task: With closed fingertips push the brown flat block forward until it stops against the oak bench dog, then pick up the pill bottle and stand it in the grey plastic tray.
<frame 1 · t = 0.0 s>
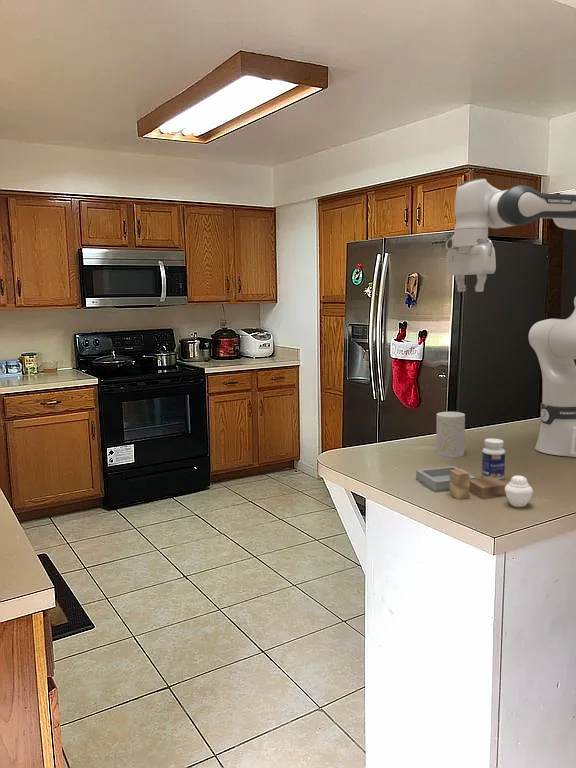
hand: (470, 291, 179), 48 cm above the countertop, tool pointing down, fingers open, 8 cm apart
cup: (450, 454, 193), on the countertop
white lidded jar: (518, 505, 148), on the countertop
tray: (445, 483, 165), on the countertop
pill bottle: (493, 478, 169), on the countertop
bench dog: (459, 495, 155), on the countertop
brown flat block: (487, 494, 157), on the countertop
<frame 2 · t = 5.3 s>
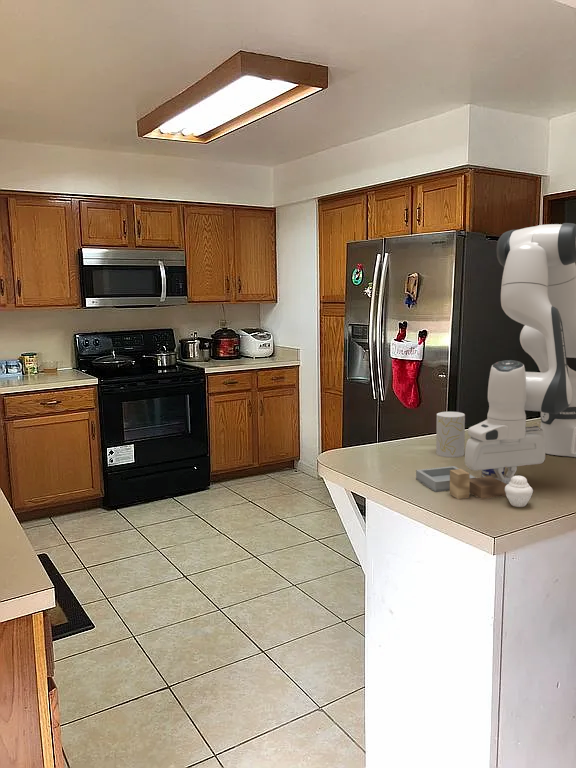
hand: (504, 484, 158), 2 cm above the countertop, tool pointing down, fingers closed
brown flat block: (485, 493, 157), on the countertop, touching gripper
everything else where it was.
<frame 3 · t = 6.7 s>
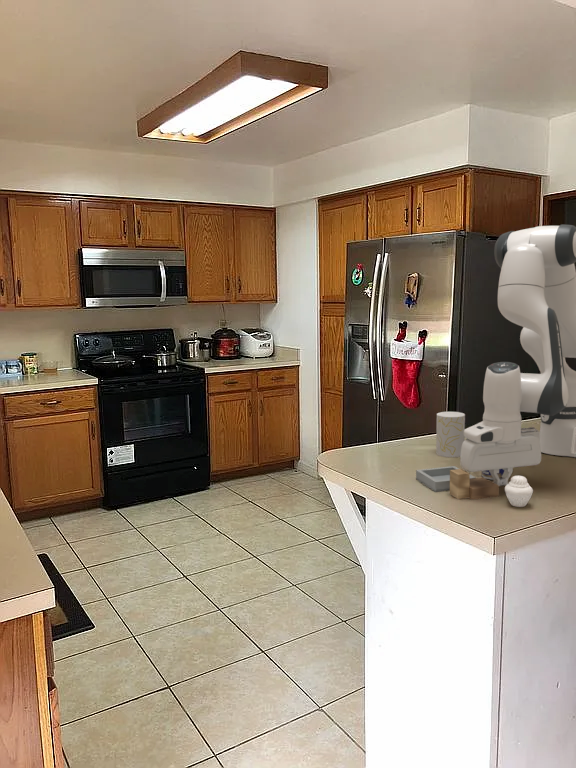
hand: (500, 485, 158), 1 cm above the countertop, tool pointing down, fingers closed
brown flat block: (477, 494, 157), on the countertop
everything else where it was.
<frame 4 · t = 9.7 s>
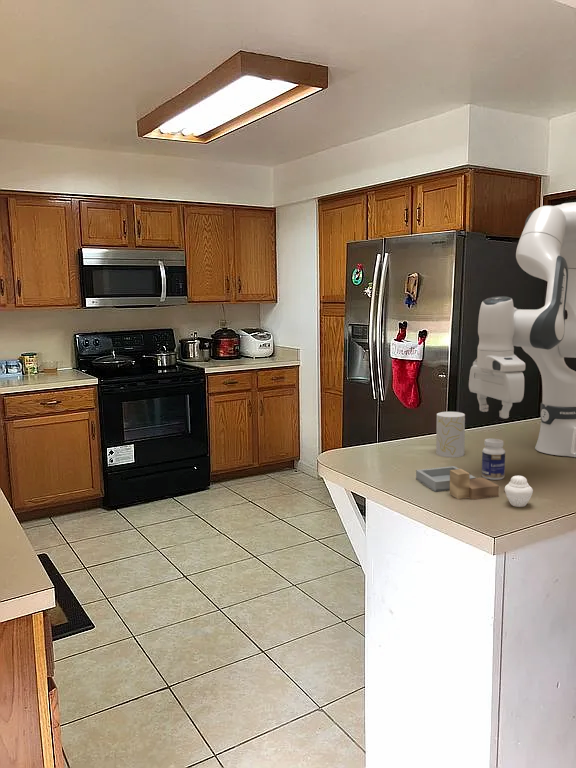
hand: (493, 414, 166), 17 cm above the countertop, tool pointing down, fingers open, 8 cm apart
nothing on the countertop moved.
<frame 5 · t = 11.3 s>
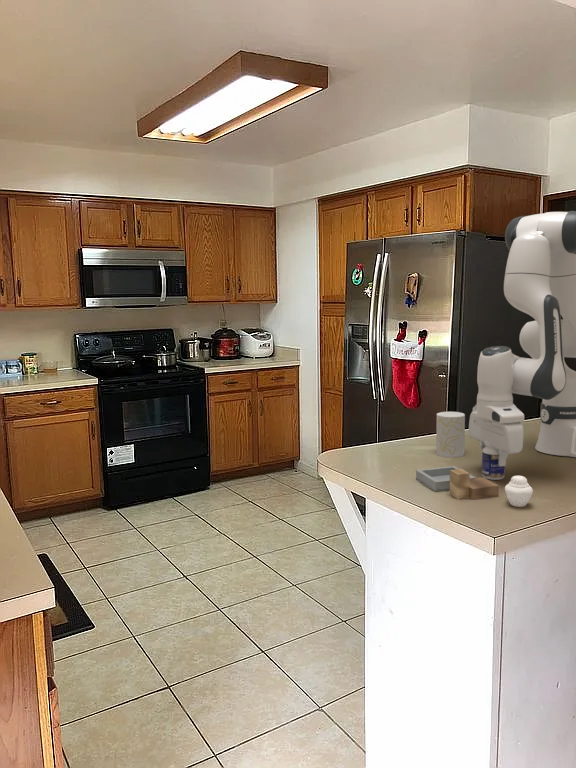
hand: (493, 462, 168), 4 cm above the countertop, tool pointing down, fingers closed on pill bottle, 6 cm apart
pill bottle: (493, 478, 169), on the countertop, touching gripper
everything else where it was.
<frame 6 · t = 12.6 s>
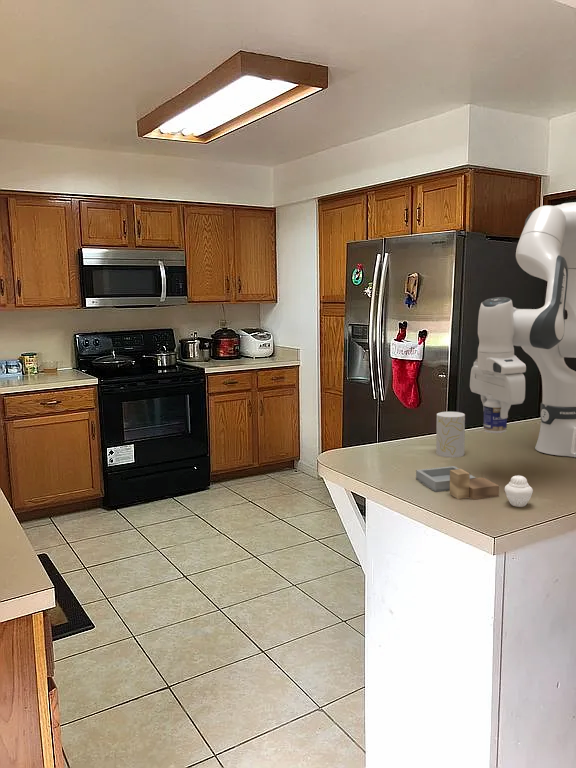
hand: (495, 415, 167), 16 cm above the countertop, tool pointing down, fingers closed on pill bottle, 6 cm apart
pill bottle: (495, 431, 168), point 12 cm above the countertop, touching gripper
everything else where it was.
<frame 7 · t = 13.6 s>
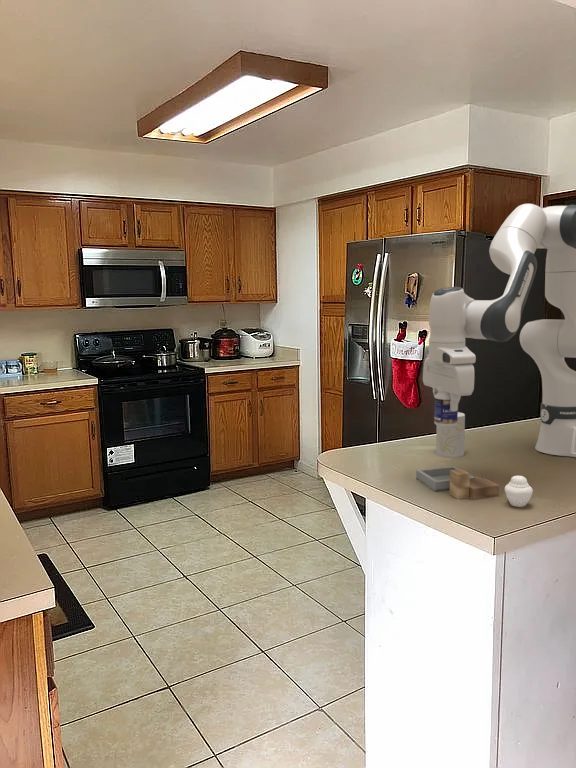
hand: (446, 408, 162), 20 cm above the countertop, tool pointing down, fingers closed on pill bottle, 6 cm apart
pill bottle: (445, 425, 163), point 15 cm above the countertop, touching gripper
everything else where it was.
when the fingers open (7 cm above the countertop, at t = 16.5 s): pill bottle drops 2 cm, resting on tray.
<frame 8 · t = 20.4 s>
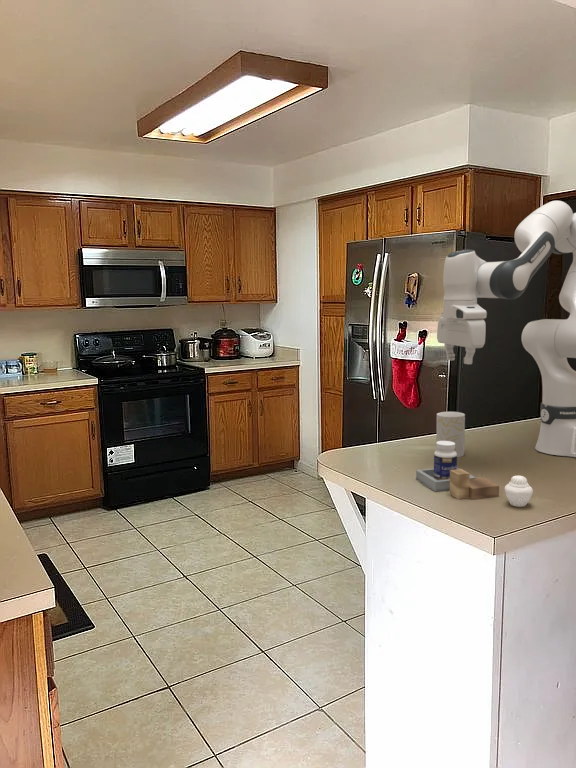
hand: (459, 362, 176), 29 cm above the countertop, tool pointing down, fingers open, 8 cm apart
pill bottle: (444, 481, 166), resting on tray
everything else where it was.
at the end: pill bottle 0.4 cm off-centre on the tray, point 0.4 cm above the tray's base; pill bottle tilted 0°; brown flat block 0.3 cm from the target spot, on the countertop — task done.
